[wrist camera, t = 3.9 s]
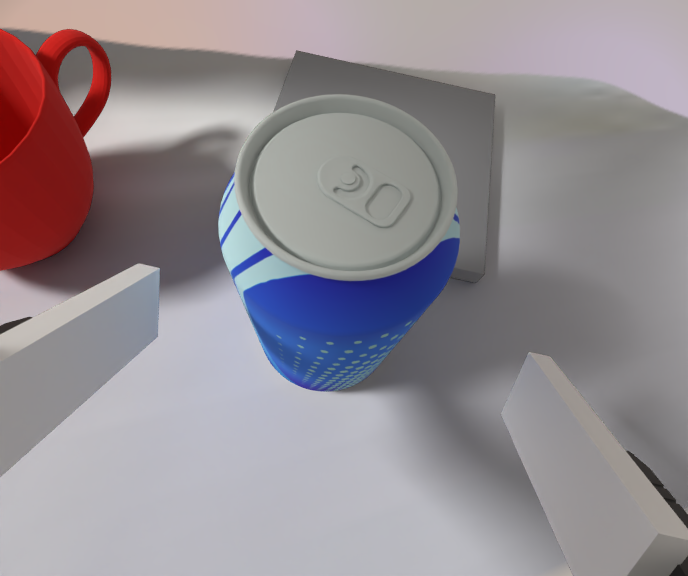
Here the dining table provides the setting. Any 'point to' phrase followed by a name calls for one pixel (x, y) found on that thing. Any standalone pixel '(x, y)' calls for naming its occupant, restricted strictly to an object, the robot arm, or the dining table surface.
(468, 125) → the slate tile
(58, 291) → the dining table surface
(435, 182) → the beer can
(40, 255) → the ceramic cup
